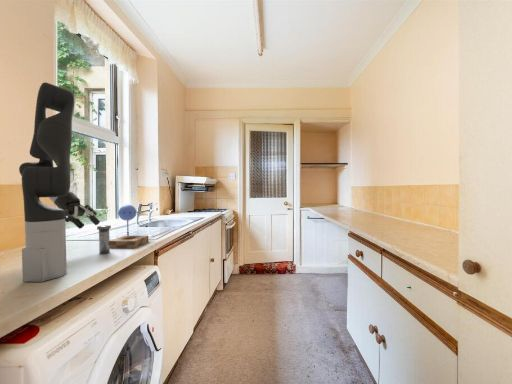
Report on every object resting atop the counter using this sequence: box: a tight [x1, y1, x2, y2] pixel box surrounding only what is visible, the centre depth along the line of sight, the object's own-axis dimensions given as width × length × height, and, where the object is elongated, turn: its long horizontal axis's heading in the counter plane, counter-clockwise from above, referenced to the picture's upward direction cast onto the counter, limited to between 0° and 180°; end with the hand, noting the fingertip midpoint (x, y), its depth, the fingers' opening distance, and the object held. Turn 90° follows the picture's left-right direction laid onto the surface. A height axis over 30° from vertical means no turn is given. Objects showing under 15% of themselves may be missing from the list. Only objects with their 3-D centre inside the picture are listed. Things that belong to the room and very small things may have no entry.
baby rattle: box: [117, 204, 137, 236], centre depth 126 cm, size 9×9×18 cm
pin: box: [96, 224, 112, 255], centre depth 98 cm, size 5×5×11 cm
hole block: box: [109, 235, 150, 249], centre depth 112 cm, size 12×12×3 cm
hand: (90, 225), depth 99 cm, fingers open, 8 cm apart
